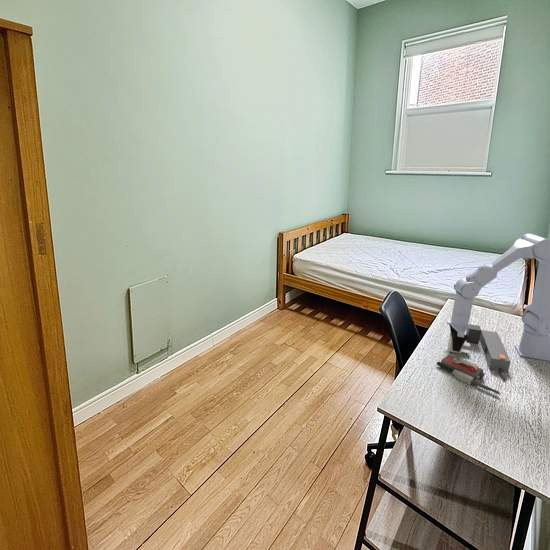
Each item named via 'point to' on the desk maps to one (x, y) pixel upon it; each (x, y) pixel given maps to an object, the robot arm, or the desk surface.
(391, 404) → the desk surface
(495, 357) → the grey slotted block
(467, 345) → the block
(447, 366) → the walkie-talkie
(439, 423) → the desk surface
